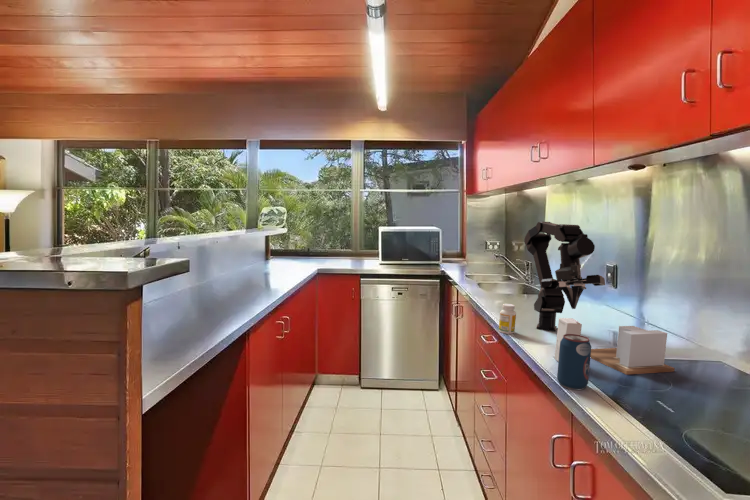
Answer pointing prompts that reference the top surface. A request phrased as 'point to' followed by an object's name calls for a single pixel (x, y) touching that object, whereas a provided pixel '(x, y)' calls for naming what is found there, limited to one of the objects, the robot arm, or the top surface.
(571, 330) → the skincare box
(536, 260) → the robot arm
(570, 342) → the soda can
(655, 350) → the white block
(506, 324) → the supplement bottle
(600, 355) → the brown board
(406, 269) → the top surface
